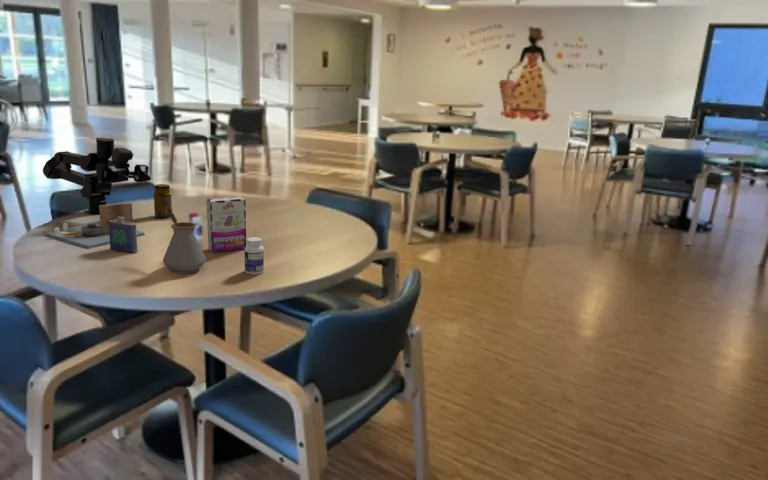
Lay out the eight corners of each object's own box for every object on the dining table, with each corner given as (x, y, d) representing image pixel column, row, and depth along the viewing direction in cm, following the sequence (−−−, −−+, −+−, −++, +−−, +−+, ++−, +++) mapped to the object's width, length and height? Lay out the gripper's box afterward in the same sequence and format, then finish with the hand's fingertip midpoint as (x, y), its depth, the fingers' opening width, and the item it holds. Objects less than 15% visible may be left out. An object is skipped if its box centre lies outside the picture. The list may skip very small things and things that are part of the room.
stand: (45, 235, 186) (44, 225, 185) (101, 223, 203) (101, 214, 202) (89, 248, 176) (88, 238, 175) (144, 235, 193) (144, 225, 192)
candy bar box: (241, 245, 189) (241, 195, 185) (246, 249, 185) (246, 198, 181) (207, 248, 183) (205, 197, 179) (211, 253, 179) (210, 201, 175)
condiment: (169, 213, 222) (168, 182, 219) (177, 218, 216) (176, 187, 212) (150, 215, 217) (148, 184, 214) (157, 221, 211) (156, 188, 208)
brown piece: (66, 239, 180) (63, 210, 178) (62, 234, 185) (59, 206, 182) (135, 231, 193) (133, 205, 190) (130, 227, 197) (128, 201, 195)
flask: (139, 251, 177) (137, 217, 174) (133, 254, 174) (130, 219, 171) (113, 247, 179) (111, 213, 176) (107, 250, 176) (104, 215, 173)
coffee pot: (211, 272, 163) (210, 220, 159) (169, 278, 157) (167, 224, 152) (189, 251, 180) (187, 204, 176) (150, 255, 173) (147, 206, 169)
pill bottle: (246, 268, 168) (245, 236, 165) (264, 269, 168) (265, 236, 165) (243, 274, 162) (243, 241, 160) (262, 275, 163) (262, 242, 160)
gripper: (88, 145, 198) (117, 155, 191) (135, 147, 214) (164, 156, 208) (85, 177, 201) (114, 188, 194) (132, 177, 217) (160, 187, 210)
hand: (139, 179), depth 201 cm, fingers open, 9 cm apart
